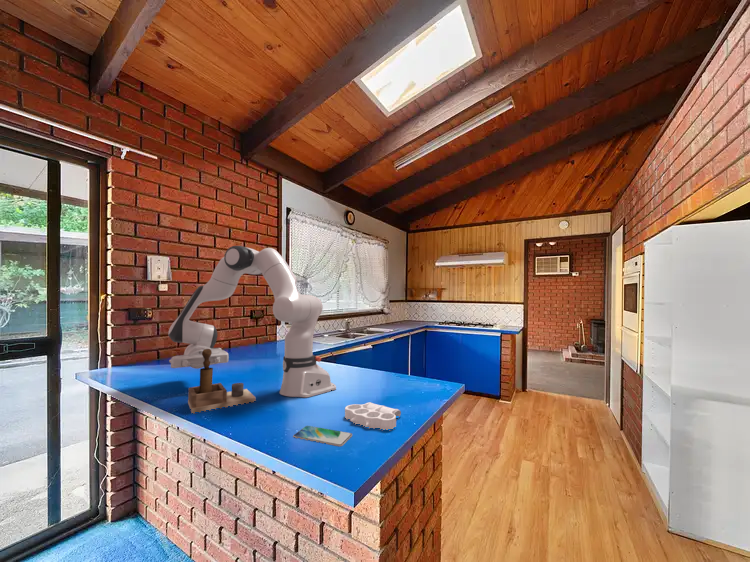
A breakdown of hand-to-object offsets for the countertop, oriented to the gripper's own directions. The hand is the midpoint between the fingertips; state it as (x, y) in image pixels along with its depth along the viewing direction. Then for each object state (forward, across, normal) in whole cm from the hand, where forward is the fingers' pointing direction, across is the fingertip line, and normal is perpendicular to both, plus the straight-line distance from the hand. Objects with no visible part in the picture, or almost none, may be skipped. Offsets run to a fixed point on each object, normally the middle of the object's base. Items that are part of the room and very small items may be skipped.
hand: (203, 363), depth 119 cm
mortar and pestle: (+11, 0, +11) cm, 16 cm away
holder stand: (+12, +5, +13) cm, 18 cm away
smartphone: (+58, +22, +13) cm, 63 cm away
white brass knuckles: (+56, +40, +13) cm, 70 cm away
